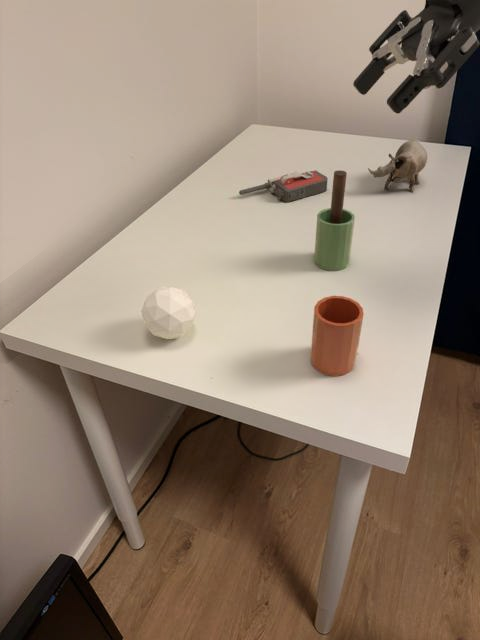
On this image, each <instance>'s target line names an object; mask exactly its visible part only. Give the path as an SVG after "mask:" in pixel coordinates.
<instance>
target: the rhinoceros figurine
mask: <svg viewBox="0 0 480 640" xmlns="http://www.w3.org/2000/svg"><path fill="white" fill-rule="evenodd" d="M388 158H389V159H391V160H390V161H389V163H387V164H386V165H384V166H383V165H380V166H378V168H377V169H376V170H373V169H371V168H370V167H367V170H368V173H369V174H371V175H372V176H373V178H385V177H386V176H388V177H387V178H386V180H385V183H384V187H383V189H384V191H387V192H388V191H390V189H389V186H390V184H391V183H401V182H405V181H407V180H408V181H409V185H408V191H409V192H412V193H414V192H415V186H419V185H421V182H420V179H419V173H420V172H421V171H423V170H424V168H426V165H427V162H428V152H427V150H426V148H425V147H424V146H423V145H422V144H421V142H419V140H417V139H415V138H414V139H413V138H412V139H409V140H406V141H405V142H403V143H402V144H401V145H400V146H399V148H398V149H397V151H396V152H395V155H394V156H393V155H392V153H388Z"/></svg>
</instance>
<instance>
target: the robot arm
mask: <svg viewBox="0 0 480 640" xmlns="http://www.w3.org/2000/svg"><path fill="white" fill-rule="evenodd" d="M479 30H480V0H425V3H424V8H423V9H421V11H420V12H418V13H417V14H416V15H415V16H414V17H412V16H410V14H409V12H408V11H407V10H406V9H405V10H402V11H401V12H400V13H398V15H397V16H396V17H395V18H394V19H393V20H392V22H391V23H390V24H389V25H388V26H387V27H386V28H385V29H384V30H383V32H382V33H380V35H378V37H377V38H376V39H375V40H374V42H373V43H372V44H371V45H370V46H369V48H368V51H369V52H370V53H371V61H370V62H369V63H368V64H367V65H366V67H365V68H364V69H363V70H362V71H361V72H360V73H359V75H358V76H357V77H356V78H355V79H354V80H353V87H354V88H355V90H356V91H357V92H358V93H359V94H361V95H363V96H365V95H366V94H367V93H368V92H369V91H370V90H371V89H372V88H373V87H374V85H376V84H377V82H378V81H379V80H380V79H381V78H382V76H383V75H384V74H385V72H386V71H387V70H389V69H391V68H392V67H394V66H396V65H397V64H399V65H404V64H405V63H407V62H409V61H411V62H415V65H414V68H413V71H412V74H413V75H411V74H408V75H407V77H406V78H405V79H404V80H403V81H402V82H401V83H400V85H398V86H397V88H396V89H395V90H394V91H393V92H392V93H391V94H390V95H389V96H388V98H387V100H386V105H387V106H388V107H389V108H390V110H391V111H392V112H393V113H395V114H397V115H399V114H400V113H402V112H403V111H404V109H406V108H408V106H409V105H410V104H411V103H412V102H413V100H415V99H416V97H417V96H418V95H420V93H422V92H423V90H428V89H429V88H431V87H433V86H435V87H436V89H442V88H443V87H445V86H446V85H447V84H448V82H449V81H450V80H451V79H452V78H453V77H454V75H455V74H456V73H457V72H458V71H459V70H460V69H461V67H463V65H464V64H465V63H466V62H467V61H468V60H469V58H470V57H471V56H472V55H473V53H475V51H476V50H477V49H478V48H479V46H480V40H479V39H478V37H477V35H476V33H477V32H478V31H479ZM386 41H387V43H385V42H386ZM400 45H401V46H400ZM391 55H393V56H391ZM446 63H447V67H446V68H445V69H444V71H441V69H442V68H443V66H444V65H445V64H446Z"/></svg>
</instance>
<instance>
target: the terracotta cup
mask: <svg viewBox="0 0 480 640" xmlns="http://www.w3.org/2000/svg"><path fill="white" fill-rule="evenodd" d="M364 314H365V313H364V308H363V307H362V306H361V304H360V303H359V302H357V300H354V299H352V298H350V297H346V296H343V295H331V296H325V297H323V298H321V299H320V300H317V302H316V304H315V305H314V307H313V318H312V319H313V320H312V333H311V343H310V364H311V365H312V367H313V368H314V369H315V370H317V372H319V373H321V374H323V375H327V376H330V377H331V376H332V377H341V376H344V375H346V374H347V375H348V373H350V372H351V371H352V370H353V369H354V368H355V366H356V361H357V357H358V350H359V345H360V339H361V333H362V326H363V320H364Z"/></svg>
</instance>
